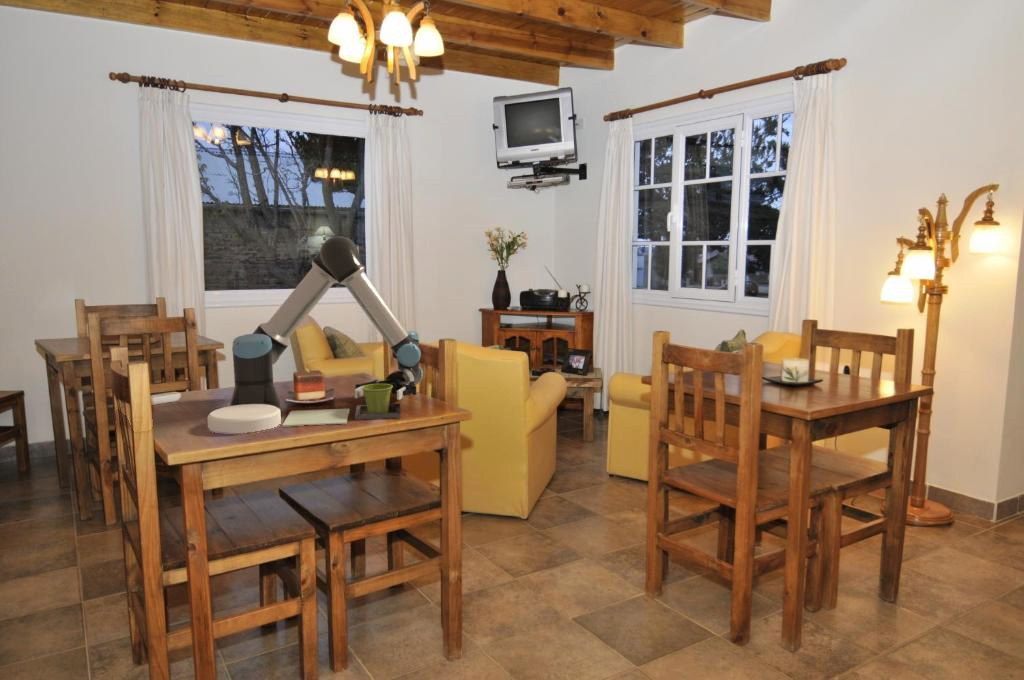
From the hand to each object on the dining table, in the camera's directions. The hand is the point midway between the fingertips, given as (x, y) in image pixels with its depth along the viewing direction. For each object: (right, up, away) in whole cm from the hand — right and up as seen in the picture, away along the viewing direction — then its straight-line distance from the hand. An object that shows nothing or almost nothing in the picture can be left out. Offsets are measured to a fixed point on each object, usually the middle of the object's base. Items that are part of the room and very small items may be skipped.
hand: (376, 394), depth 220 cm
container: (-36, -9, -11) cm, 39 cm away
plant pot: (0, -6, +2) cm, 7 cm away
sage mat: (-17, -7, -3) cm, 19 cm away
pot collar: (0, -6, +2) cm, 7 cm away
